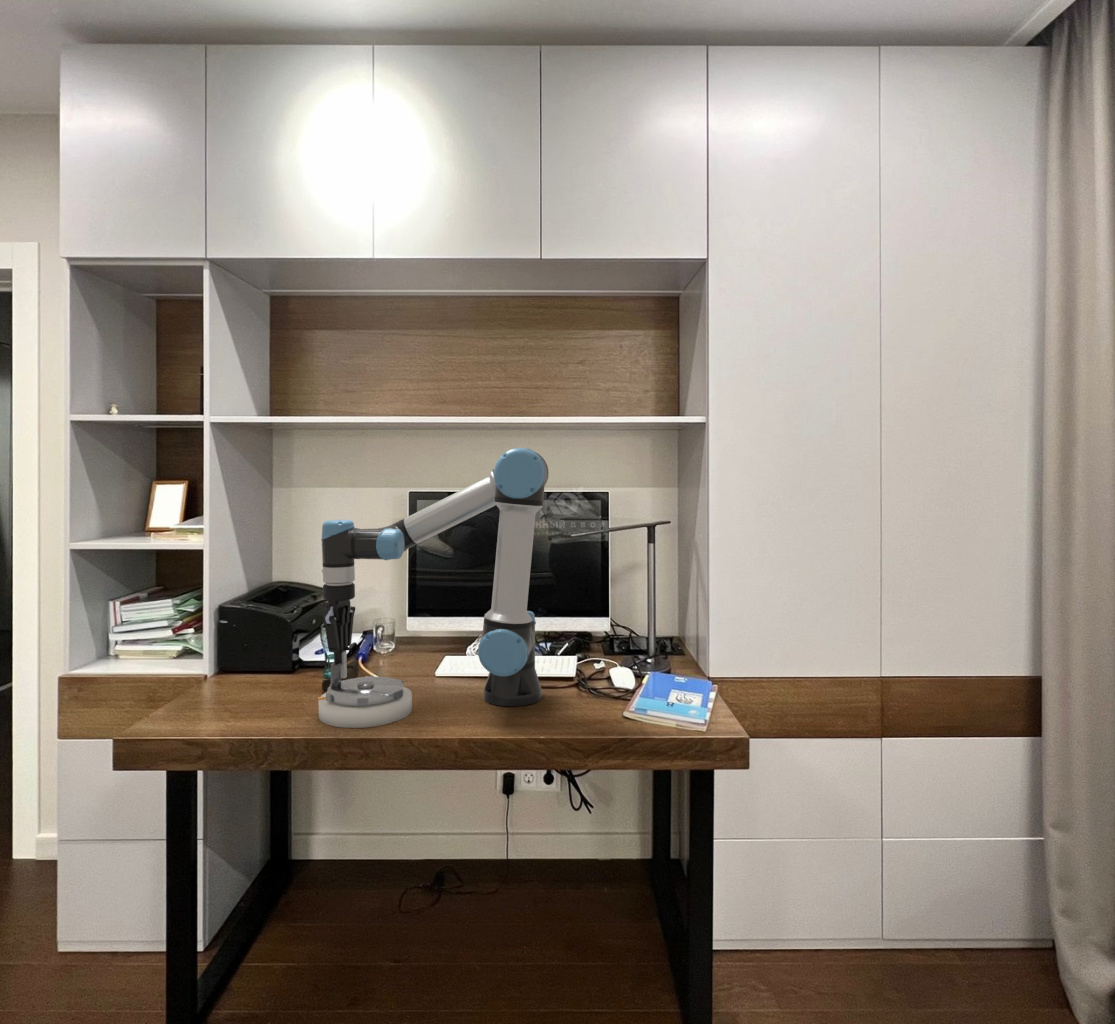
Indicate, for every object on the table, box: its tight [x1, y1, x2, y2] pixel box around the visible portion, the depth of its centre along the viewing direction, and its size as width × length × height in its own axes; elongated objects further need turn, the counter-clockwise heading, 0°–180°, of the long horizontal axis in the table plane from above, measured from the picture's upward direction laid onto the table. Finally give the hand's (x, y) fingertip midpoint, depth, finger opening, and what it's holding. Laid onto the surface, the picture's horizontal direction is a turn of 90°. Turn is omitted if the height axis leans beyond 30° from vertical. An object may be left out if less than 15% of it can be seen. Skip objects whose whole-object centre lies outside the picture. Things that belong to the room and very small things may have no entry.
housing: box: [317, 686, 413, 729], centre depth 173 cm, size 22×22×4 cm
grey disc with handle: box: [326, 662, 405, 707], centre depth 173 cm, size 18×19×8 cm
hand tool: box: [321, 660, 360, 694], centre depth 198 cm, size 19×4×5 cm, turn 170°
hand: (340, 677), depth 175 cm, fingers closed
